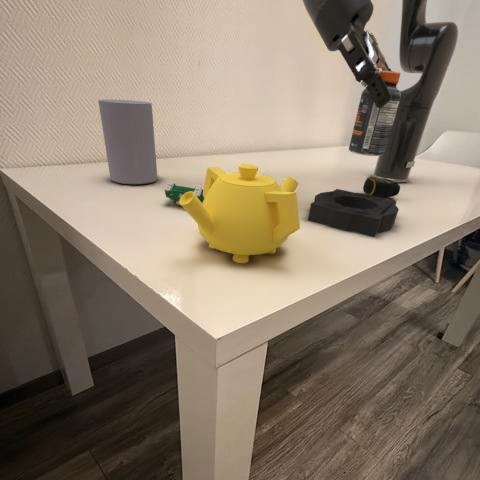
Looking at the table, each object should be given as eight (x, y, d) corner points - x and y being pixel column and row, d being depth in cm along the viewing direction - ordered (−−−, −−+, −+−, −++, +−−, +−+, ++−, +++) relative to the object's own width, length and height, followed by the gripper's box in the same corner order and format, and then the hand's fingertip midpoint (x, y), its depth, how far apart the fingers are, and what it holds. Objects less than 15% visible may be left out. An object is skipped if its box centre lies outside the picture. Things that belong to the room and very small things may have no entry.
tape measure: (398, 200, 75) (403, 183, 73) (373, 201, 74) (378, 183, 71) (379, 192, 81) (384, 175, 79) (355, 192, 79) (359, 175, 77)
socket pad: (327, 201, 71) (330, 187, 69) (399, 217, 65) (405, 202, 63) (299, 219, 60) (302, 202, 59) (382, 239, 54) (388, 221, 53)
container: (101, 182, 72) (87, 100, 64) (124, 172, 81) (115, 99, 72) (145, 187, 71) (137, 104, 62) (164, 177, 79) (159, 102, 71)
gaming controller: (170, 209, 66) (156, 192, 60) (176, 192, 66) (163, 173, 60) (212, 217, 64) (203, 200, 58) (218, 199, 64) (209, 181, 58)
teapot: (251, 218, 59) (257, 149, 53) (333, 254, 49) (353, 172, 42) (149, 242, 48) (141, 157, 41) (228, 295, 37) (233, 192, 31)
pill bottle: (346, 148, 59) (364, 70, 53) (379, 152, 59) (402, 73, 52) (350, 154, 55) (371, 68, 48) (387, 157, 54) (413, 71, 48)
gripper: (341, -40, 42) (405, 82, 44) (370, -12, 52) (421, 86, 54) (296, 17, 47) (355, 123, 49) (331, 32, 57) (378, 120, 59)
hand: (390, 103), depth 52 cm, fingers closed on pill bottle, 6 cm apart
